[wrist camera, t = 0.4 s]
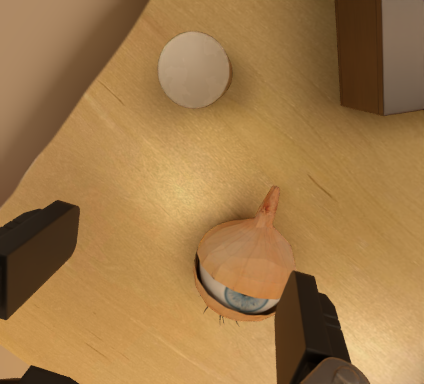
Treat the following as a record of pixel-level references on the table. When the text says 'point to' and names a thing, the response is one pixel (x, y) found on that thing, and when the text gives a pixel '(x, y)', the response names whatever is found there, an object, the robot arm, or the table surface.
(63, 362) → the table surface
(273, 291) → the sculpture
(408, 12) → the cabinet
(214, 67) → the tin
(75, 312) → the table surface
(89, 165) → the table surface
